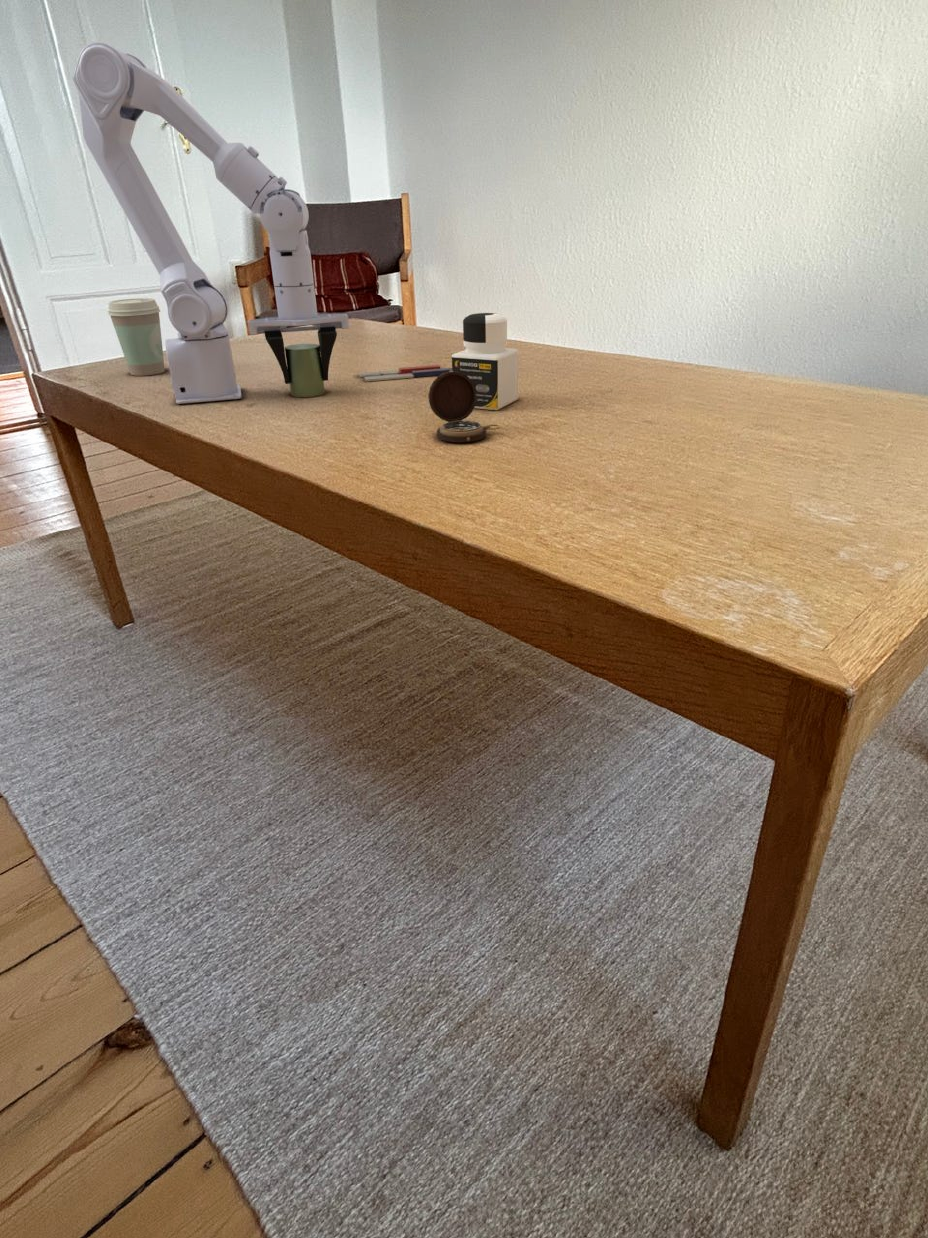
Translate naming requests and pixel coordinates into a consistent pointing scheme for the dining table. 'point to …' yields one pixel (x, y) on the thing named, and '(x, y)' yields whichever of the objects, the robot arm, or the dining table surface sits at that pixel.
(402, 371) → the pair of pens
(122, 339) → the coffee cup
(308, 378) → the can
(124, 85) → the robot arm
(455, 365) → the medicine bottle
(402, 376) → the knife
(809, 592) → the dining table surface
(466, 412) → the compass
